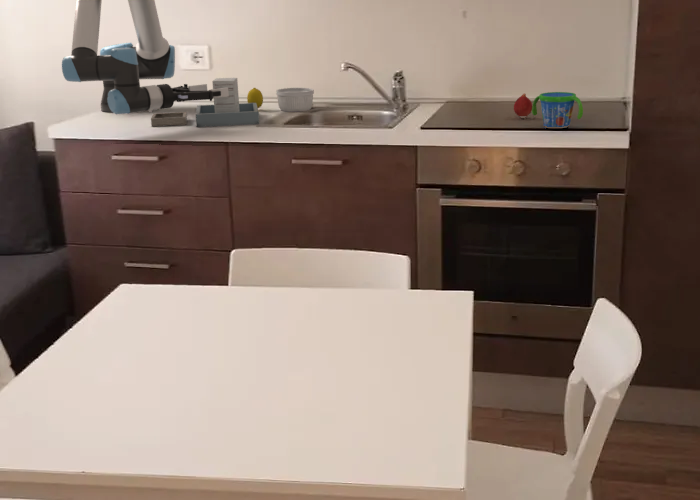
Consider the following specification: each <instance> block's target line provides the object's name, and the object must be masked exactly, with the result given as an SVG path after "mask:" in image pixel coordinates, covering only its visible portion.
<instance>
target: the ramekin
mask: <svg viewBox="0 0 700 500" xmlns="http://www.w3.org/2000/svg"><path fill="white" fill-rule="evenodd" d="M314 93H315V91H314V89H313V88H310V87H287V88H286V87H284V88H279V89H276V91H275V94H276V97H277V98H276V99H277V104H278V108H279V109H280V111H282V112H287V113H288V112H291V113H293V112H294V113H295V112H296V113H297V112H306V111H310V110H311V109H312V107H313V102H314V101H313V99H314Z"/></svg>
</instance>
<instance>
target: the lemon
mask: <svg viewBox="0 0 700 500" xmlns="http://www.w3.org/2000/svg"><path fill="white" fill-rule="evenodd" d="M246 100H247V103H256V104H257V108H258V109H260V108H261V107H262V105H263V103H264V96H263V93H262V91H261V90H260V89H258V88H256V87H253V88H252V89H250V90H249V91H248V92H247V97H246Z"/></svg>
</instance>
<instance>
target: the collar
mask: <svg viewBox="0 0 700 500" xmlns="http://www.w3.org/2000/svg"><path fill="white" fill-rule="evenodd" d="M187 121H188V112H187V111H181V112H180V111H178V112H161V113H159V112H157V113H155V112H154V113H153V114H152V116H151V117H150V124H151V127H164V126H163V125H172V126H186V125H187V123H188V122H187Z"/></svg>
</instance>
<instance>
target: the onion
mask: <svg viewBox="0 0 700 500" xmlns="http://www.w3.org/2000/svg"><path fill="white" fill-rule="evenodd" d="M532 106H533V103H532V101H531V99H529V97H527V95H526V93H522V95H521V96H519V97H518V98H517V99H516V100H515V102H514V104H513V112H514V114H516V116H518V117H519V116H526V117H528V116H529V115H530V114H531V113H532Z"/></svg>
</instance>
